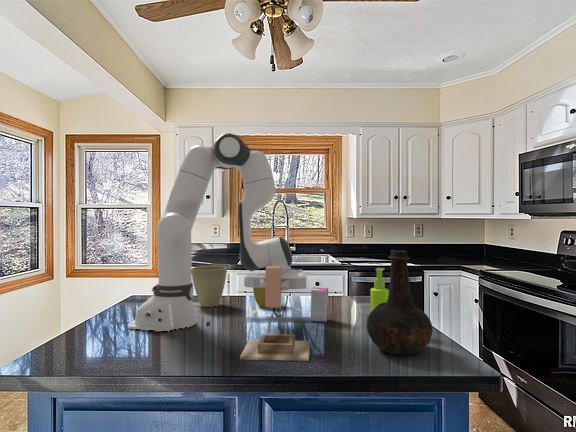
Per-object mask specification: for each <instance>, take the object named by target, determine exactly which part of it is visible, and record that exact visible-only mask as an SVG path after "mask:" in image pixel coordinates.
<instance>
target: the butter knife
mask: <svg viewBox="0 0 576 432" xmlns="http://www.w3.org/2000/svg"><path fill="white" fill-rule="evenodd" d="M257 312H258V310H255V309H253V310H251V311H250V315H249V316H248V319H252V318H253V316H254V315H256V314H257Z"/></svg>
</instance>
